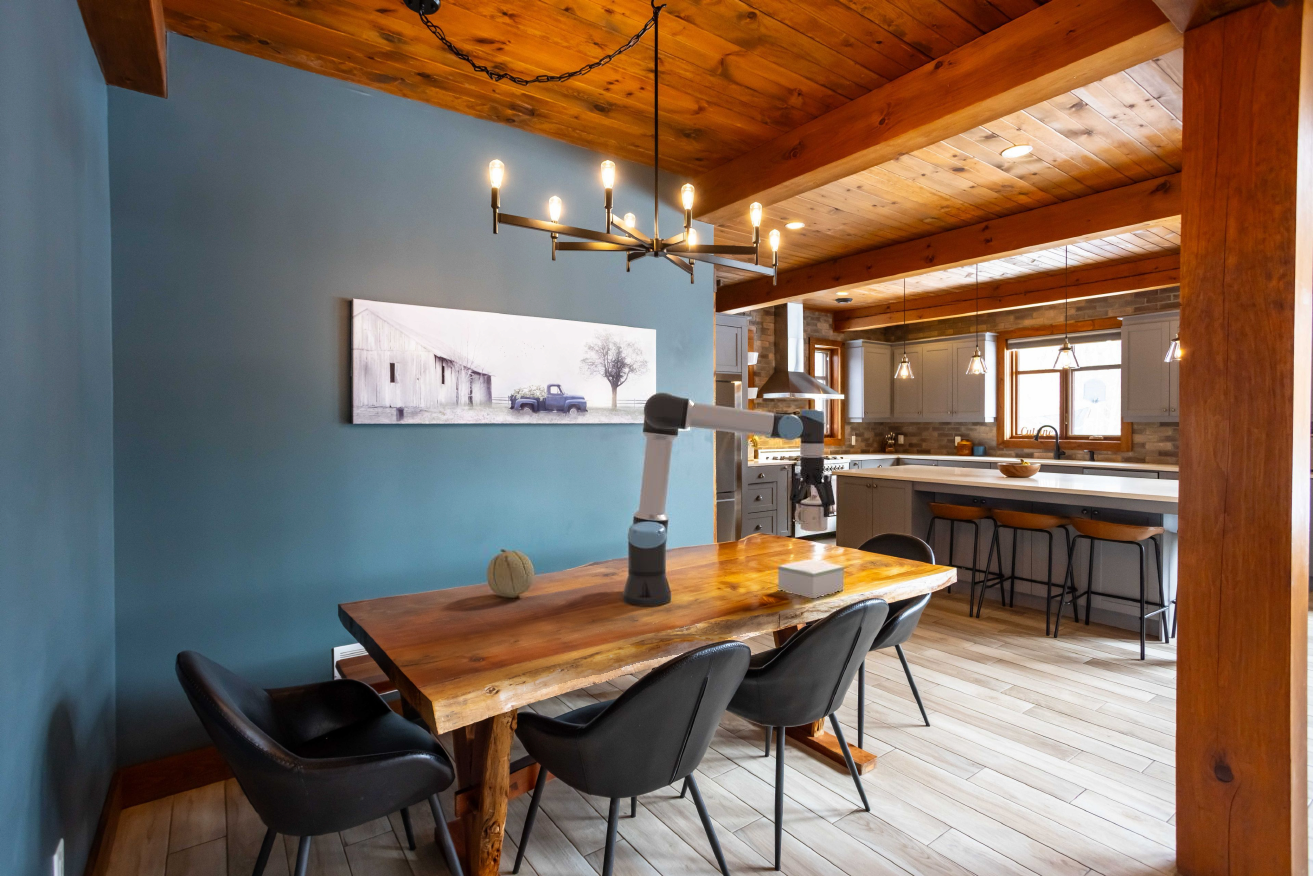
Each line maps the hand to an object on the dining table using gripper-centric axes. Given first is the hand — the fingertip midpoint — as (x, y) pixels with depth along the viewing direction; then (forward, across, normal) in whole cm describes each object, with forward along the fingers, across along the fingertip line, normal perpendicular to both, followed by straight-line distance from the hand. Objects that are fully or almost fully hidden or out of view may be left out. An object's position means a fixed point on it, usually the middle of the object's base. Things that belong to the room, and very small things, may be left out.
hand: (811, 525), depth 217 cm
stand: (+22, 0, 0) cm, 22 cm away
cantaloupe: (+22, +55, +80) cm, 100 cm away
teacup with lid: (+2, 0, 0) cm, 2 cm away
